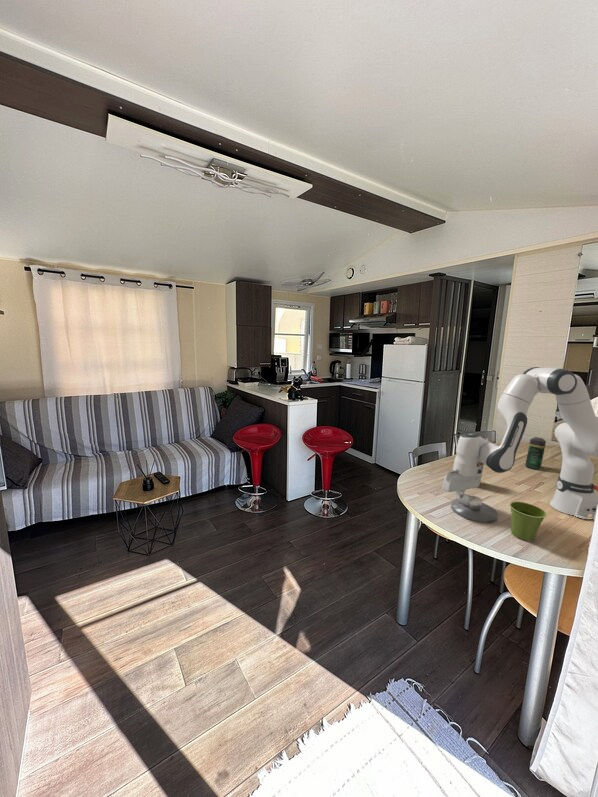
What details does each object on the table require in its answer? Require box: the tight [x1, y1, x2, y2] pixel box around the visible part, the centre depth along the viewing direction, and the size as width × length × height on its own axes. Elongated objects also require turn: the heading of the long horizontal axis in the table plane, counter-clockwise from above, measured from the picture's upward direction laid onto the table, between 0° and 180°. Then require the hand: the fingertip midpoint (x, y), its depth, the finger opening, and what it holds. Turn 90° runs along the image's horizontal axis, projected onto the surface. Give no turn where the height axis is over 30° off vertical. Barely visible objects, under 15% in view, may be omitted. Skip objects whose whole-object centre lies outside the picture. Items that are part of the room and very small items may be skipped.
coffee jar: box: [524, 436, 547, 470], centre depth 202 cm, size 10×8×19 cm
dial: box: [457, 493, 483, 511], centre depth 146 cm, size 10×5×4 cm, turn 38°
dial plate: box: [450, 498, 499, 524], centre depth 144 cm, size 18×18×2 cm
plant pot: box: [509, 501, 548, 542], centre depth 127 cm, size 12×12×11 cm
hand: (458, 498), depth 147 cm, fingers closed
